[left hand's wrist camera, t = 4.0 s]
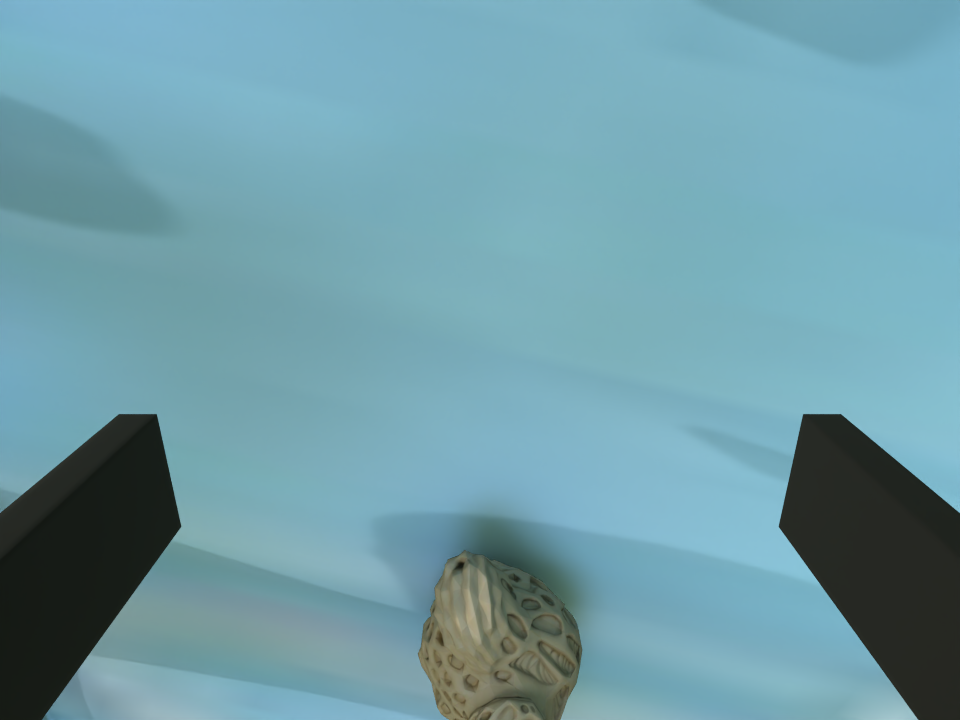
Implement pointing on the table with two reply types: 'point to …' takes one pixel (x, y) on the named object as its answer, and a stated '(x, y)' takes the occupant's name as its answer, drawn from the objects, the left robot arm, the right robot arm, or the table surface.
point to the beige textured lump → (498, 644)
